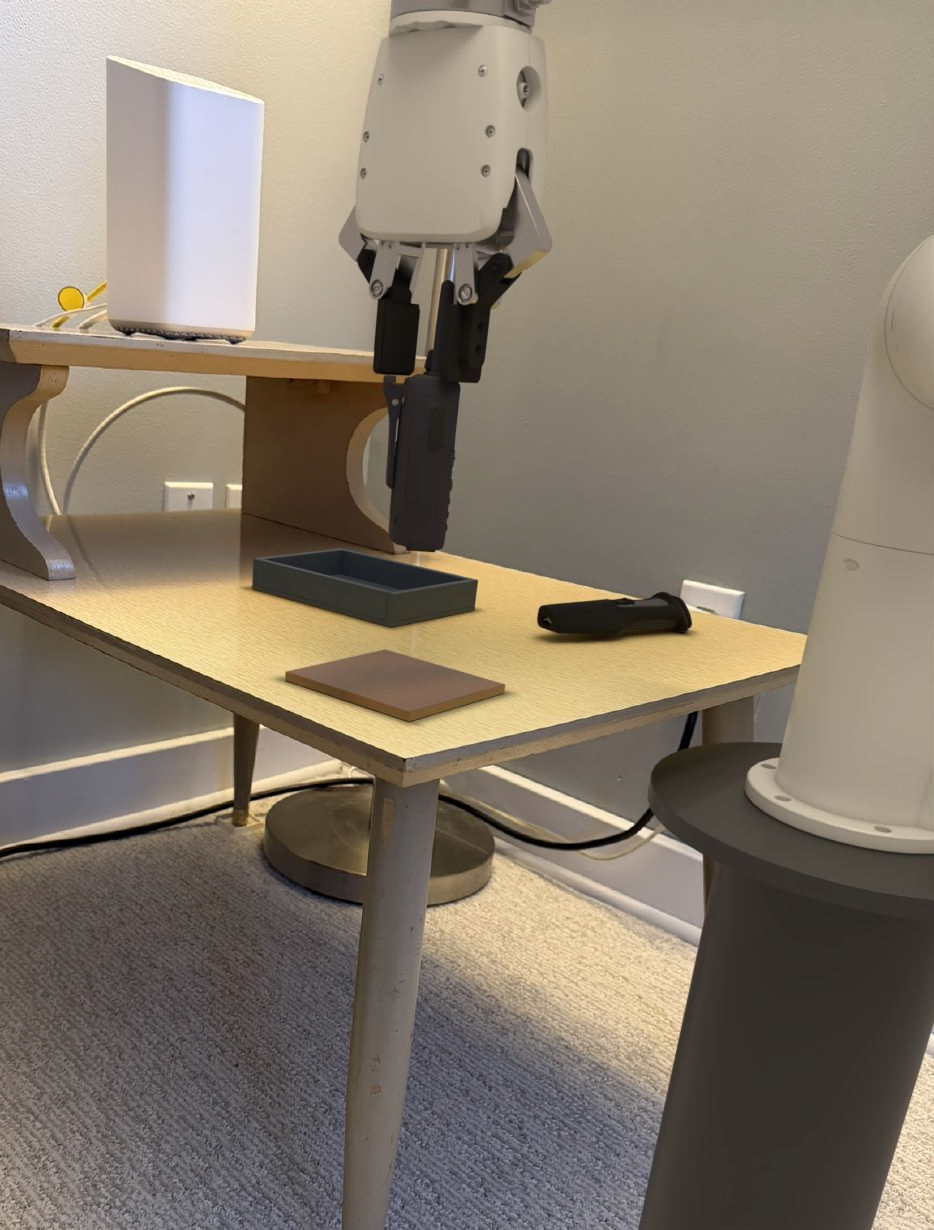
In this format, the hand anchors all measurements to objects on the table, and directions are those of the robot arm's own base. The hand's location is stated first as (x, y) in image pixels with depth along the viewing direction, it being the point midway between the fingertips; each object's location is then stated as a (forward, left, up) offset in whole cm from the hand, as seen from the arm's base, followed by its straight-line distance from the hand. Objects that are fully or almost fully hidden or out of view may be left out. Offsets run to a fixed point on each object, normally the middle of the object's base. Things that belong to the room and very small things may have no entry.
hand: (426, 374), depth 67 cm
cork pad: (0, 0, -19) cm, 19 cm away
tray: (+18, -18, -19) cm, 32 cm away
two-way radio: (0, 0, -10) cm, 10 cm away
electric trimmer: (-1, -27, -19) cm, 33 cm away
